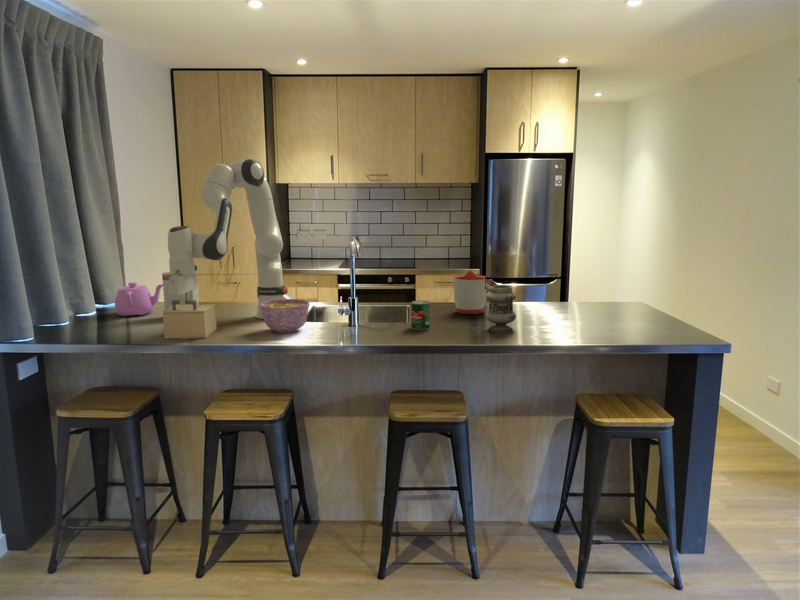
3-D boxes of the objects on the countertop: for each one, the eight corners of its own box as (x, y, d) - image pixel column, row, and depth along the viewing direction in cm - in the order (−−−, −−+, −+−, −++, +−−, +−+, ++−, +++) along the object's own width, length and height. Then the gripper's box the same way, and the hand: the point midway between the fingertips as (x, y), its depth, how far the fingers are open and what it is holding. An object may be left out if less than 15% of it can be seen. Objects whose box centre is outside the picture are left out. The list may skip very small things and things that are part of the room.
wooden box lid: (215, 306, 238) (214, 295, 238) (204, 312, 225) (203, 300, 224) (176, 306, 238) (175, 295, 237) (162, 312, 224) (161, 301, 224)
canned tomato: (410, 329, 239) (410, 303, 237) (412, 325, 247) (412, 300, 245) (429, 330, 238) (429, 303, 236) (431, 326, 245) (431, 300, 244)
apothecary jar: (485, 326, 245) (486, 283, 242) (515, 326, 243) (516, 284, 240) (485, 332, 233) (486, 288, 230) (516, 333, 231) (517, 288, 228)
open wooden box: (216, 330, 240) (215, 306, 238) (205, 338, 226) (204, 313, 225) (177, 330, 240) (176, 306, 238) (164, 338, 226) (162, 313, 224)
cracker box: (200, 316, 270) (197, 271, 266) (194, 318, 264) (191, 273, 260) (171, 315, 271) (168, 271, 268) (165, 318, 265) (161, 272, 262)
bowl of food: (267, 325, 248) (266, 299, 246) (314, 325, 248) (313, 298, 246) (255, 336, 229) (254, 307, 227) (306, 336, 228) (305, 307, 226)
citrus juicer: (489, 316, 265) (490, 272, 262) (451, 315, 268) (452, 272, 265) (490, 309, 281) (491, 268, 277) (454, 308, 284) (455, 268, 280)
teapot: (109, 320, 262) (106, 287, 260) (120, 311, 282) (117, 280, 280) (163, 317, 267) (161, 285, 265) (170, 309, 287) (168, 279, 285)
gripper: (180, 272, 213) (183, 309, 215) (198, 265, 233) (201, 299, 235) (163, 272, 213) (166, 309, 215) (183, 266, 233) (185, 300, 235)
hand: (184, 304), depth 226 cm, fingers closed
